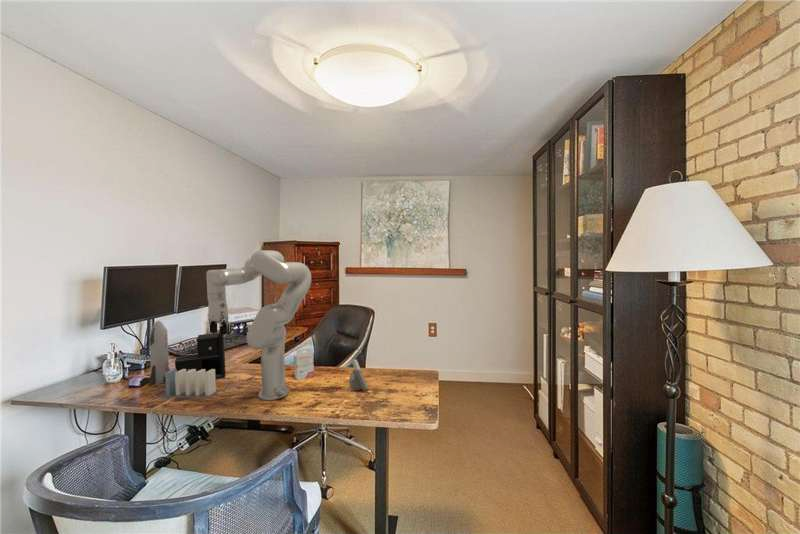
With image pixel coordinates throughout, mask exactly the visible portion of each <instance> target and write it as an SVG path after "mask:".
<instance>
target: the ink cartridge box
mask: <svg viewBox="0 0 800 534" xmlns="http://www.w3.org/2000/svg"><path fill="white" fill-rule="evenodd" d="M304 351H305V352H304ZM313 351H314V349H313V347H309V348H301V349H297V350H296V353H294V354H293V360H294V361H293V362H294V378H295V379H296V380H298V381H299V380H304V379H308V378H314V377H315V370H314V369H315V368H314V367H315V366H314V365H315V363H314V352H313Z"/></svg>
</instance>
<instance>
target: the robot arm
mask: <svg viewBox="0 0 800 534" xmlns="http://www.w3.org/2000/svg"><path fill="white" fill-rule="evenodd" d="M250 256H251V257H250V258H248V259H247V260H246V261H245V262H244V266H242V267H239V268H222V269H209V270H207V271H206V289H207V290H206V292H207V301H208V304H207V306H208V311H207V312H208V313H207V318H208V324H209V325H208V326H209V334H214V333H218V323H219V331H220V335H224V336H225V335H228V322H229V309H228V303H227V291H226V290H227V289H226V287H227V286H235V285H236V286H238V285H242V284H247V283H248V282H251V281H253V280H256V279H257V278H258V277H260V276H264V277H266V278H267V279H269V280H270V281H272V282H275V283H276V284H280V285H281V284H289V285H288V286H287V287H286V288H285V289H284V291H283V292H282V294H281V295H280V297H279V300H277V302H276V303H275V302H274V303H271V304H268V305H267V304H266V305H264V306H263V307H261V308H260V310H259V311H258V312H257V314H256V316H255V318H254V319H253V321H252V323H251V325H250V327H249V329H248V331H247V333H246V343H247V345H248V347H249V348H251V349H253V350H261V353H260V354H261V355H260V365H261V366H260V367H261V369H260V370H261V390H260V391H259V392H258V395H257V397H258V398H259V399H260V400H263V401H274V400H279V399H282V398H284V397H286V396H288V395H289V394H290V391H291V389H290V388H287V384H286V370H285V369H286V367H285V366H286V365H285V363H286V361H285V346H286V338H287V330H286V327H285V325H287V324H288V323H290V322H291V321H292V320H293V318H294V316H295V315H296V312H297V311H298V309H299V308H300V305H301V303H302V302H303V300H304V299H305V296H306V295H307V293H308V292H309V290H310V287H311V285H312V273H311V270H310V269H309V267H308V265H306V264H304V263H302V262H299V261H298V262H297V261H296V262H295V261H291V262H288V261H287V262H285V257H284V256H283V254H282V253H281V252H280V251H277V250H266V249H264V250H262V249H261V250H257V251H255V252H253V253H252V255H250ZM217 322H218V323H217Z"/></svg>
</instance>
